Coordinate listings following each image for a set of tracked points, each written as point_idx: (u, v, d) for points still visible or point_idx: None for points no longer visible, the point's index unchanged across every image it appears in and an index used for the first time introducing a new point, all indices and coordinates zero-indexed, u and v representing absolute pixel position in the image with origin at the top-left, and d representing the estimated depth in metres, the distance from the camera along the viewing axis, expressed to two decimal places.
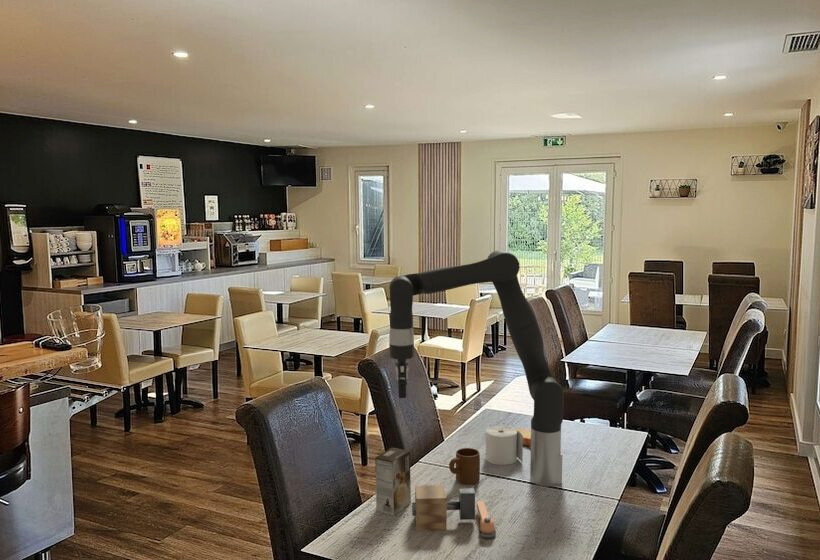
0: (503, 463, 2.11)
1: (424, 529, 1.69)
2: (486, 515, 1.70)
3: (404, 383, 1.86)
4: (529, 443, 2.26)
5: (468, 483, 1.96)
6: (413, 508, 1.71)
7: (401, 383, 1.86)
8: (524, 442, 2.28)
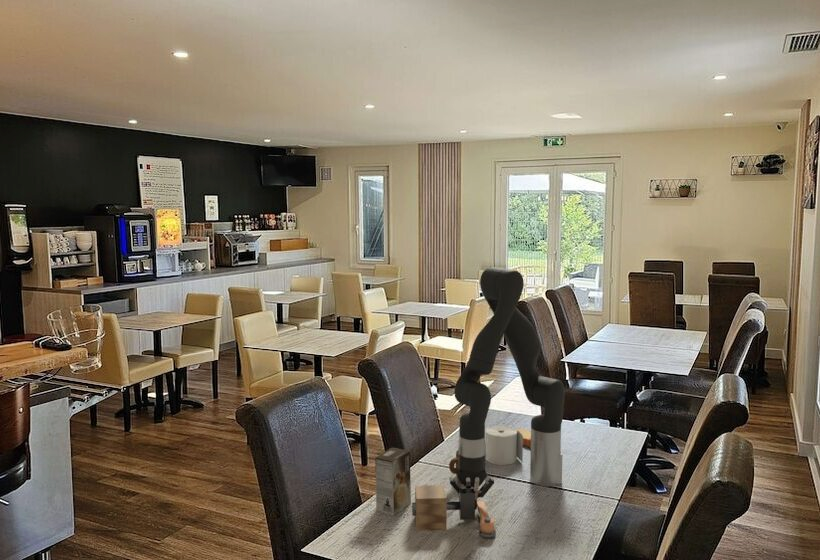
0: (503, 463, 2.11)
1: (424, 529, 1.69)
2: (486, 515, 1.70)
3: None
4: (527, 443, 2.26)
5: None
6: (413, 508, 1.71)
7: None
8: (523, 442, 2.28)
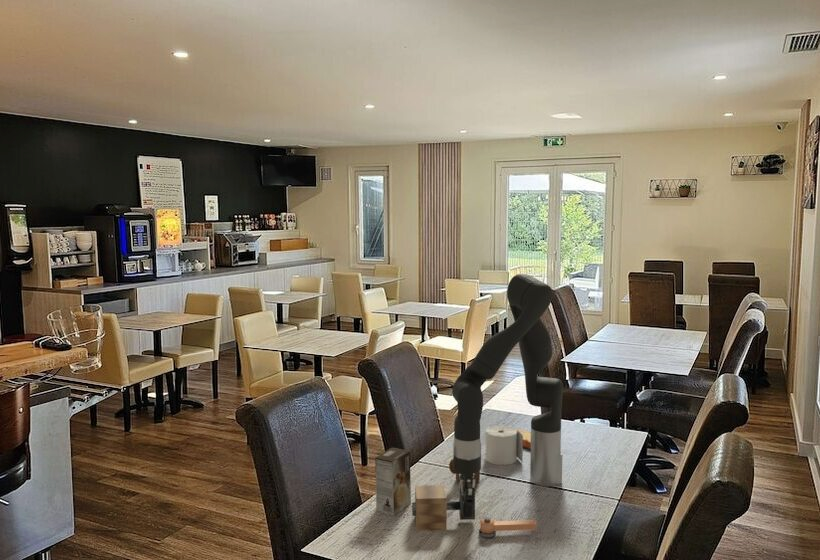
0: (503, 463, 2.11)
1: (424, 529, 1.69)
2: (504, 523, 1.66)
3: None
4: (524, 444, 2.25)
5: None
6: (413, 508, 1.71)
7: None
8: None
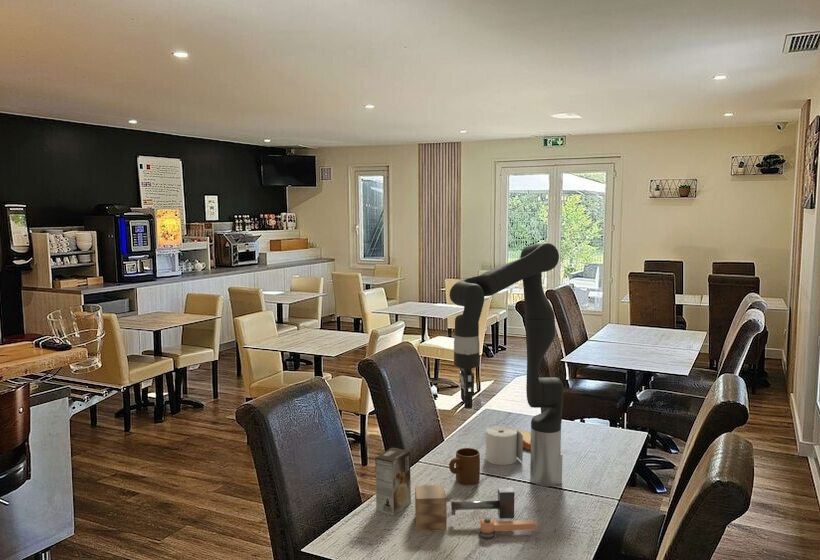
0: (503, 463, 2.11)
1: (424, 529, 1.69)
2: (504, 523, 1.66)
3: None
4: None
5: (468, 483, 1.96)
6: (452, 507, 1.71)
7: None
8: None
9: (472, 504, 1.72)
